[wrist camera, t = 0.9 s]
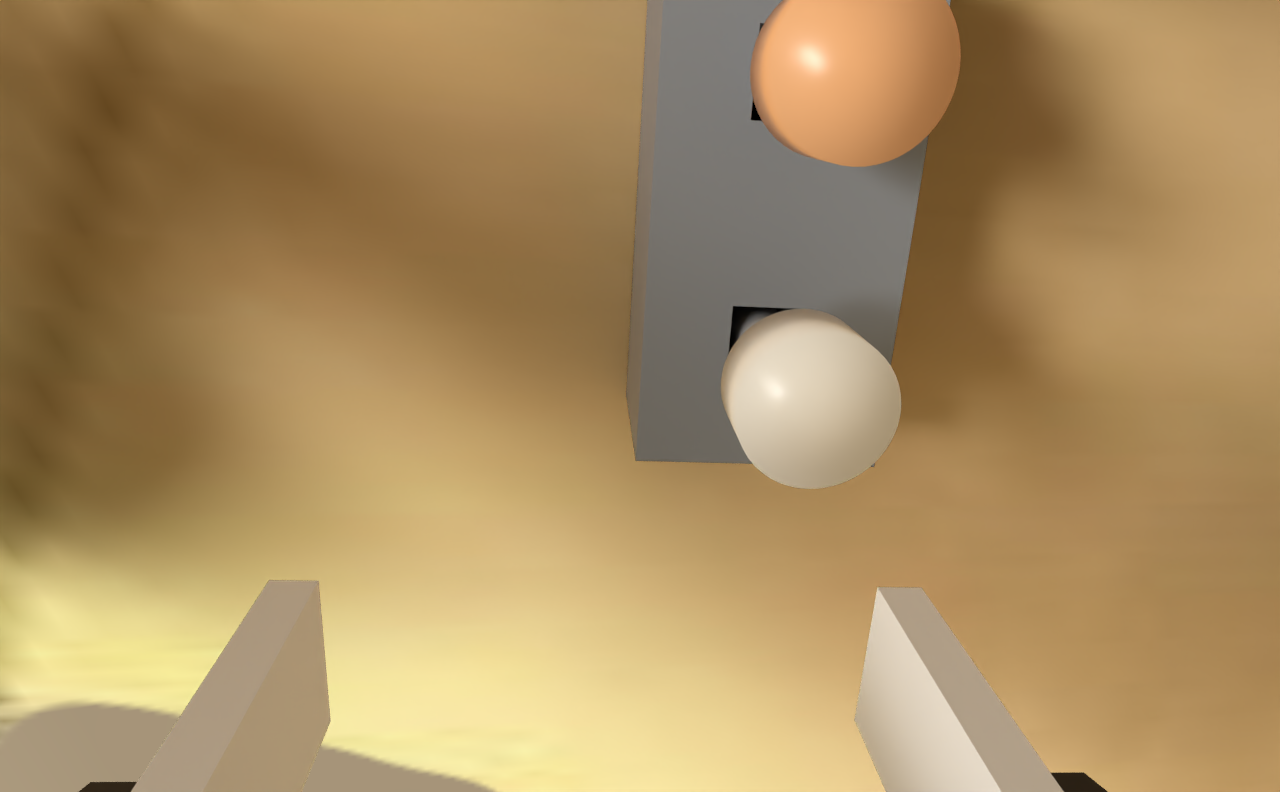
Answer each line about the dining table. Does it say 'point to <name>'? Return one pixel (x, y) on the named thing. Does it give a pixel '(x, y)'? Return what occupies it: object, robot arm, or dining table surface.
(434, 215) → the dining table surface
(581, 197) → the dining table surface
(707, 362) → the console
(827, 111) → the knob
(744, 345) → the knob
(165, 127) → the dining table surface
